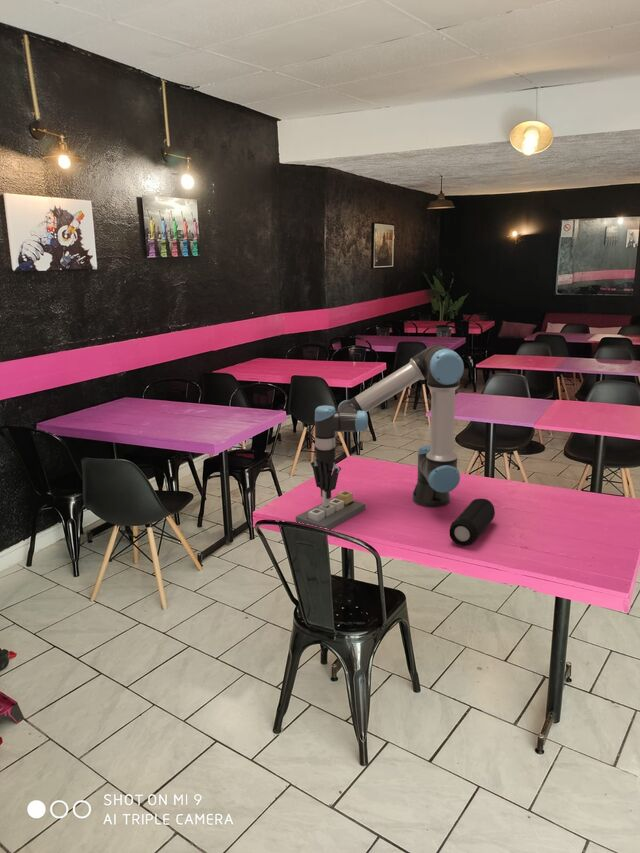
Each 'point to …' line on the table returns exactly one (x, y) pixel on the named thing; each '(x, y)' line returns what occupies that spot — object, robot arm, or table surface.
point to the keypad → (333, 515)
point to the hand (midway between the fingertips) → (326, 505)
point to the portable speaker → (472, 522)
